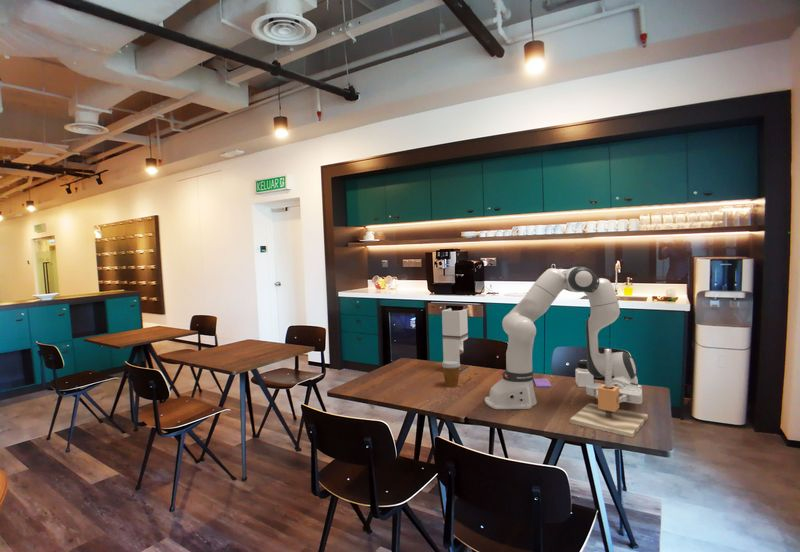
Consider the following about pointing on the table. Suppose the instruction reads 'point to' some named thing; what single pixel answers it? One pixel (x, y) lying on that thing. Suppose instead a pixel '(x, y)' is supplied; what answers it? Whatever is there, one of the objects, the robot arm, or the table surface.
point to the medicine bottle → (583, 374)
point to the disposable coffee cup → (451, 372)
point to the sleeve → (608, 398)
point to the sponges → (542, 383)
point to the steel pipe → (608, 376)
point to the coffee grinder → (454, 334)
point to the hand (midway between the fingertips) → (608, 398)
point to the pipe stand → (610, 420)
